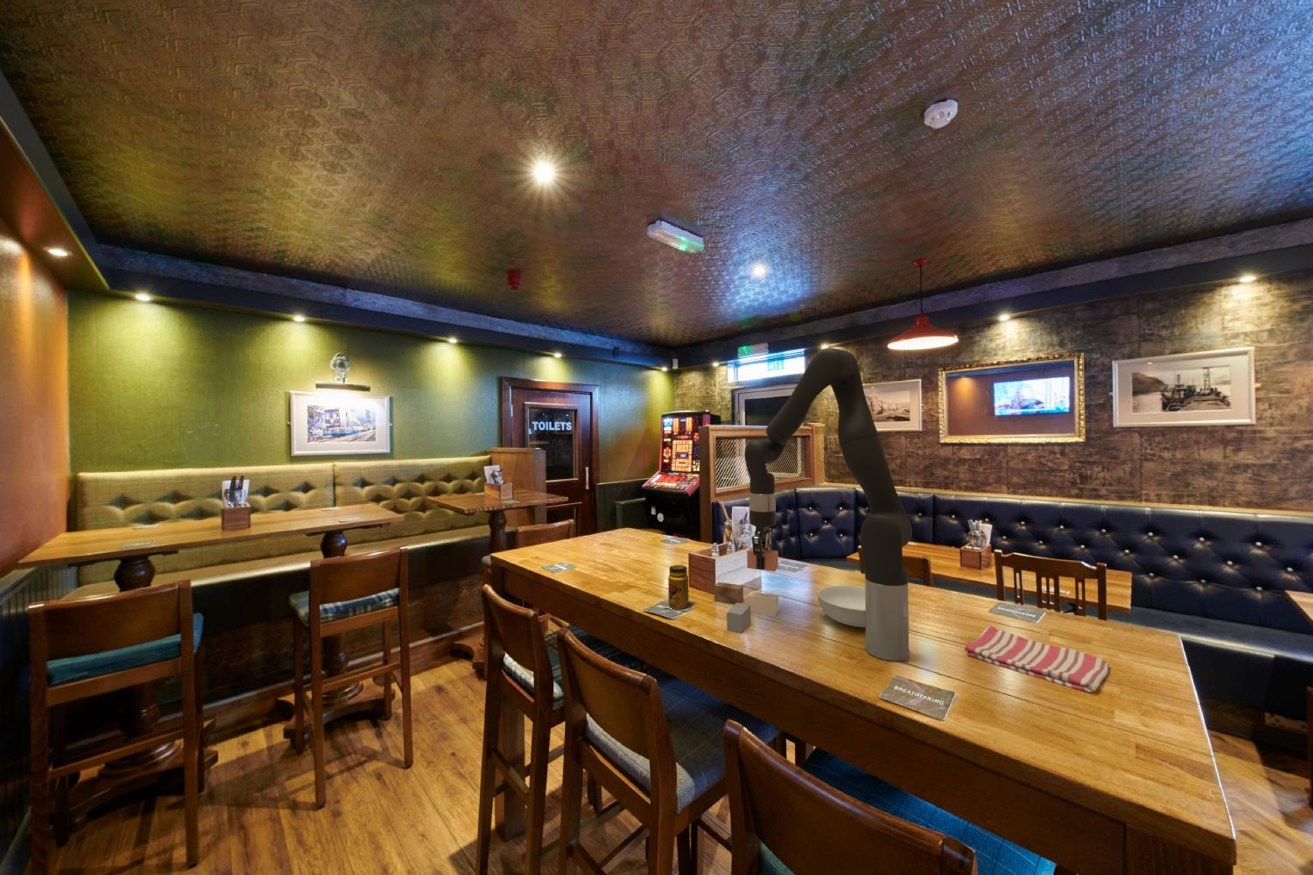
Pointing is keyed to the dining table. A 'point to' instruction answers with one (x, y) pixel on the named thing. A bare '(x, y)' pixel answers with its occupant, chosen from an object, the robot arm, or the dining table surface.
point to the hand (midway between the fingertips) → (762, 566)
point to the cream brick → (763, 603)
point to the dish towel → (1039, 659)
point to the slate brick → (738, 617)
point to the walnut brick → (728, 593)
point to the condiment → (678, 588)
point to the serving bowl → (844, 604)
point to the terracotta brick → (770, 560)
